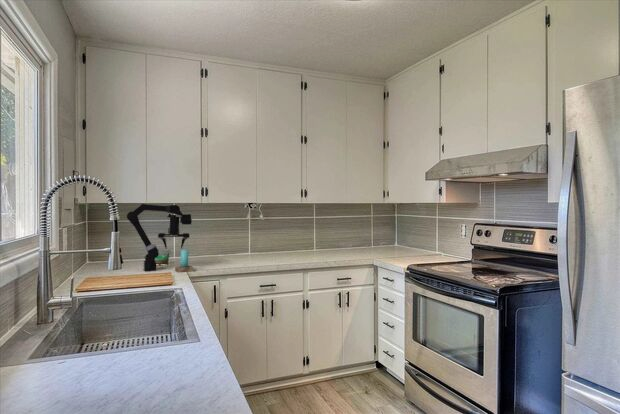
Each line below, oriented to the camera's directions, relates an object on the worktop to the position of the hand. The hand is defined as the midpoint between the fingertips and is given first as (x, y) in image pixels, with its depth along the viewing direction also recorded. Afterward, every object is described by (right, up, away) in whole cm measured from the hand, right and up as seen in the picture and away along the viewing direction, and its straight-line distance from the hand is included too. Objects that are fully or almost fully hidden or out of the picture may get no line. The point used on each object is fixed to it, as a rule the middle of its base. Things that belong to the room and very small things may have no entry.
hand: (173, 248), depth 243 cm
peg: (+9, -13, -6) cm, 17 cm away
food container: (-17, -13, +20) cm, 29 cm away
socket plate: (+9, -13, -6) cm, 17 cm away
